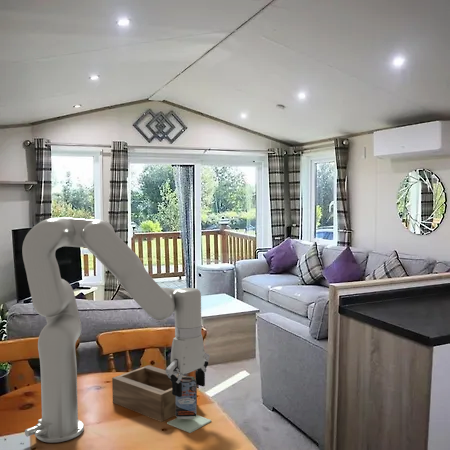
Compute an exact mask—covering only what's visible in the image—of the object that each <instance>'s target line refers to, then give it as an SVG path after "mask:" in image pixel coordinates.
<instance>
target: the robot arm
mask: <svg viewBox="0 0 450 450" xmlns="http://www.w3.org/2000/svg"><path fill="white" fill-rule="evenodd" d="M62 247H63V248H64V247H73V248H86V249H87V250H88V251H89V252H90V254H92V255H93V256H94V257H95V258H96V259H97V261H99V262H100V263H101V264H102V265H103V266H104V267H105V268H106V270H108V271H109V273H111V274H112V275H113V276H114V277H115V279H116V280H117V281H118V283H119V285H121V286H122V287H123V289H124V290H125V291H126V292H127V294H128V295H129V296H130V297H131V298H132V299H133V300H134V302H136V304H137V305H138V306H139V307H140V308H141V309H143V311H144V312H145V313H146V314H147V315H148V316H150V317H151V318H152V319H154V320H157V321H164V320H167V319H169V318H170V317H171V316H172V315H173V314H174V336H175V337H173V338H172V343H171V348H170V349H171V350H170V351H171V352H170V364H169V365H168V366H167V367H166V369H164V370H165V371H166V373H167V376H168V378H169V379H170V381H172V394H173V395H175V396H178V397H181V396H182V383H181V382H180V381H181V379H182V376H185V375H187V374H190V373H192V372H195V379H196V385H197V386H200V387H205V386H206V372H207V367H208V365H209V361H210V357H211V355H210V354H209V353H207V352H205V345H204V338H203V334H202V328H203V325H202V294H201V293H202V292H201V291H200V289H198V288H194V287H181V288H173V287H172V288H170V287H161V286H160V285H159V284H158V283H157V282H156V281H155V279H153V277H152V276H151V275H150V274H149V272H148V271H147V270H146V268H145V266H144V264H143V262H142V261H141V259H140V256H138V255H137V254H136V252H134V250H133V249H132V248H130V247H129V246H128V244H127V243H125V241H124V240H123V239H122V238H121V237H120V236H119V235H118V234H117V233H116V232H115V228H114V227H113V225H112V224H111V223H110V222H109V221H107V220H103V219H87V218H86V219H85V218H74V217H63V216H62V217H50V218H46V219H44V220H41V221H40V222H38V223H37V224H35V225H34V226H33V227H32V228H31V229H30V230H28V232H27V234H26V235H25V237H24V240H23V242H22V248H21V249H22V253H21V254H22V260H23V264H24V269H25V273H26V278H27V283H28V288H29V293H30V297H31V301H32V306H33V309H34V310H35V312H36V313H37V314H38V315H39V316H41V317H44V318H45V320H46V324H45V325H44V327H43V328H41V329H42V330H41V331H40V333H39V336H38V340H37V351H38V357H39V365H40V366H39V367H40V368H39V369H40V382H41V383H40V391H41V392H40V393H41V394H40V395H41V418H40V419H38V420H37V421H38V422H37V424H35V426H31V427H29V428H26V429H25V430H24V435H25V436H26V437H27V438H28V437H30V436H33V435H34V437H36V439H38V440H39V441H41V442H45V443H51V444H52V443H61V442H62V443H63V442H66V441H70V440H73V439H75V438H76V437H78V436H80V435H81V434H82V433H83V431H84V430H85V424H84V423H83V422H82V420H80V419H79V415H78V414H79V412H78V411H79V409H78V408H79V407H78V372H77V371H78V370H77V369H78V367H77V356H76V355H77V354H76V343H77V342H78V341H77V340H78V339H79V338H80V335H81V333H82V323H81V317H80V313H79V309H78V305H77V300H76V295H75V292H74V289H73V287H72V285H71V284H70V283H69V282H68V281H67V280H65V279H64V278H62V277H61V270H60V266H59V264H58V260H57V258H56V251H57V250H58V249H60V248H62ZM177 374H179V375H178V377H176V376H177Z"/></svg>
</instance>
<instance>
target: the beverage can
mask: <svg viewBox="0 0 450 450" xmlns="http://www.w3.org/2000/svg"><path fill="white" fill-rule="evenodd" d="M195 379H196V378H195V376H186V377H182V379H181V381H180V382H181V383H182V396H181V397H178V396H176V407H175V415H174V416H175V417H176V418H178V419H194V417H195V416H196V415H197V405H196V380H195Z"/></svg>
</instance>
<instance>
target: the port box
mask: <svg viewBox="0 0 450 450" xmlns="http://www.w3.org/2000/svg"><path fill="white" fill-rule="evenodd" d="M165 370H166V369H162V368H159V367H157V366H156V367H155V366H154V365H150V364H149V365H145V366H143V367H139V368H137V369H134V370H130V371H129V372H124V373H121V374H120V375H117V376H114V377H112V378H111V380H112V381H111V382H112V383H111V384H112V385H111V386H112V387H111V388H112V403H113V404H116V405H118V406H121V407H123V408H126V409H128V410H131V411H133V412H135V413H138V414H141V415H143V416H146V417H147V418H151V419H153V420H155V421H158V422H161V423H162V422H163V421H166V420H168V419H170V418H173V417H174V416H175V407H176V396H175V395H173V394H172V381H170V379H169V378H168V376H167V373H166V371H165ZM178 375H179V374H177V376H176V377H178ZM182 377H187V376H186V375H183V376H182ZM194 379H195V380H196V378H194ZM197 387H198V385H196V406H197V405H198V395H197V394H198V389H197Z"/></svg>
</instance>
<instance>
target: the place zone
mask: <svg viewBox="0 0 450 450" xmlns="http://www.w3.org/2000/svg"><path fill="white" fill-rule="evenodd" d="M166 423H167V425H170V426H171V427H174V428H177V429H179V430H181V431H184V432H187V433H189V434H191V433H194V432H195V431H196V430H198V429H201V428H202V427H204V426H205V425H208V424H209V423H212V419H210V418H206V417H203V416H201V415H199V414H196V416H195V417H194V419H178V418H177V417H176V418H174V419H171V420H169V421H167V422H166Z"/></svg>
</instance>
